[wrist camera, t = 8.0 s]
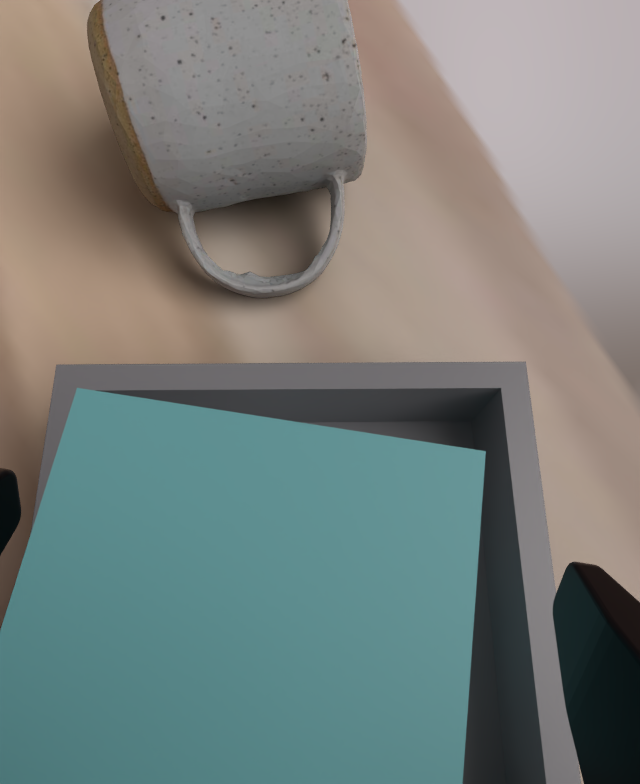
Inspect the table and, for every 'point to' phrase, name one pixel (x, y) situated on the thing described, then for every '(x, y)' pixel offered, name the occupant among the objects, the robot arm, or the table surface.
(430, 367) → the box
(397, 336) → the table surface
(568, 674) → the robot arm
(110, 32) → the ceramic mug
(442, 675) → the handle block
